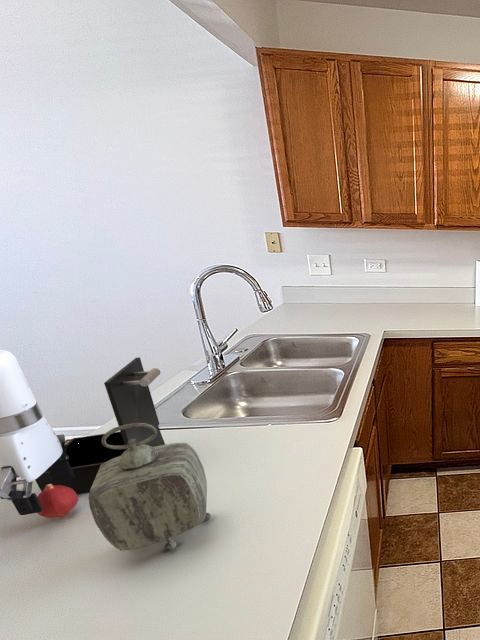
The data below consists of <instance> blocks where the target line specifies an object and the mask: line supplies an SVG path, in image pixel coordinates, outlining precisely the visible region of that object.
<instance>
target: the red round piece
mask: <svg viewBox="0 0 480 640" xmlns="http://www.w3.org/2000/svg"><path fill="white" fill-rule="evenodd" d="M40 491H41V490H40ZM37 497H38V499H39V501H40V503H41V505H42V506H43V510H42V511H41V512H39V513H37V515H38V516H40V517H43V518H46V519H63V518H66V517H68V515H70V513H71V511H72V510H73V509H75V508H76V506H77V504H78V501H79V497H78V494H76V492H75V491H74V490H73V489H72V488H70V487H66V486H62V485H52V484H48V485H46V487H45V488H44V490H42V491H41V492H39V494H37Z"/></svg>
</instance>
